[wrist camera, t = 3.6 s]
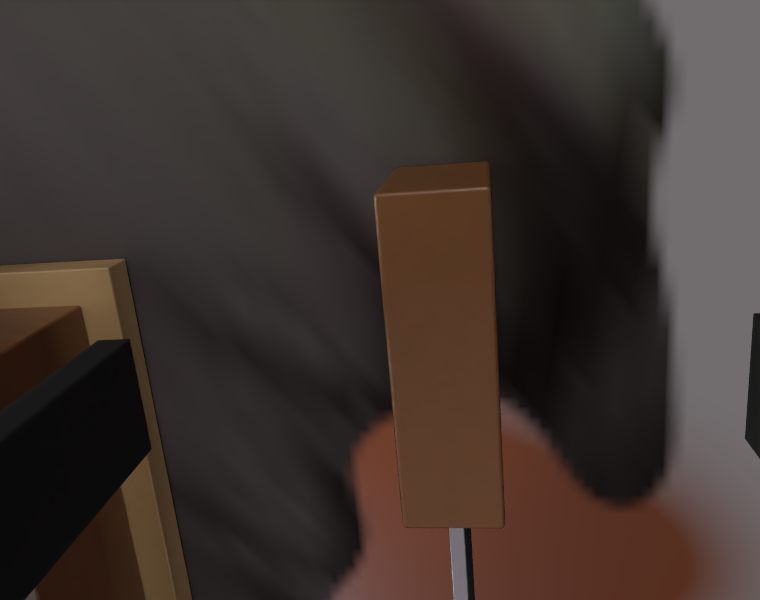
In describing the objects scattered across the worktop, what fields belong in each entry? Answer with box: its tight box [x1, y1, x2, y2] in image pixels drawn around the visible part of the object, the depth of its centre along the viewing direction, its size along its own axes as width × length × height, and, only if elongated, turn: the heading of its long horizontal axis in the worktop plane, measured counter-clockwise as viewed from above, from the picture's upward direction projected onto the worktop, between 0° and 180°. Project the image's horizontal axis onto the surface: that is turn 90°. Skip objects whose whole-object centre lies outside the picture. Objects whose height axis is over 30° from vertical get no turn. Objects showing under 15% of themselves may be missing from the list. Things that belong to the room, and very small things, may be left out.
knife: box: [373, 161, 505, 600], centre depth 20 cm, size 23×2×4 cm, turn 5°
